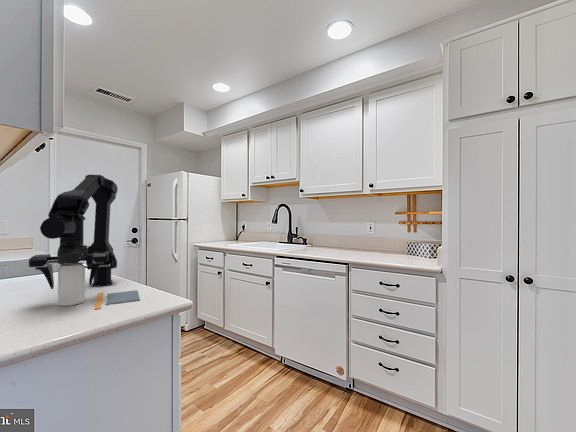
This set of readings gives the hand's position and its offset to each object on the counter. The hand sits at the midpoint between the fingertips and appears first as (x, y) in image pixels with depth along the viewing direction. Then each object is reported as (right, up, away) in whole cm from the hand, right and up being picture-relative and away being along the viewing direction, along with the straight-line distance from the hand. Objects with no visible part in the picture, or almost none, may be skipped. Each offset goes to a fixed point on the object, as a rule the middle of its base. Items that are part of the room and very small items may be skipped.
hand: (71, 286), depth 86 cm
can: (0, -5, 0) cm, 5 cm away
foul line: (+6, -5, +3) cm, 9 cm away
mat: (+12, -5, +6) cm, 14 cm away
